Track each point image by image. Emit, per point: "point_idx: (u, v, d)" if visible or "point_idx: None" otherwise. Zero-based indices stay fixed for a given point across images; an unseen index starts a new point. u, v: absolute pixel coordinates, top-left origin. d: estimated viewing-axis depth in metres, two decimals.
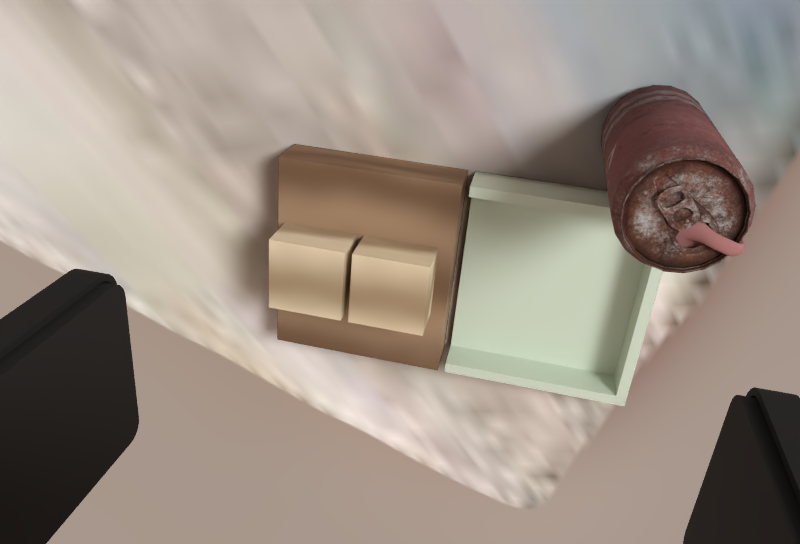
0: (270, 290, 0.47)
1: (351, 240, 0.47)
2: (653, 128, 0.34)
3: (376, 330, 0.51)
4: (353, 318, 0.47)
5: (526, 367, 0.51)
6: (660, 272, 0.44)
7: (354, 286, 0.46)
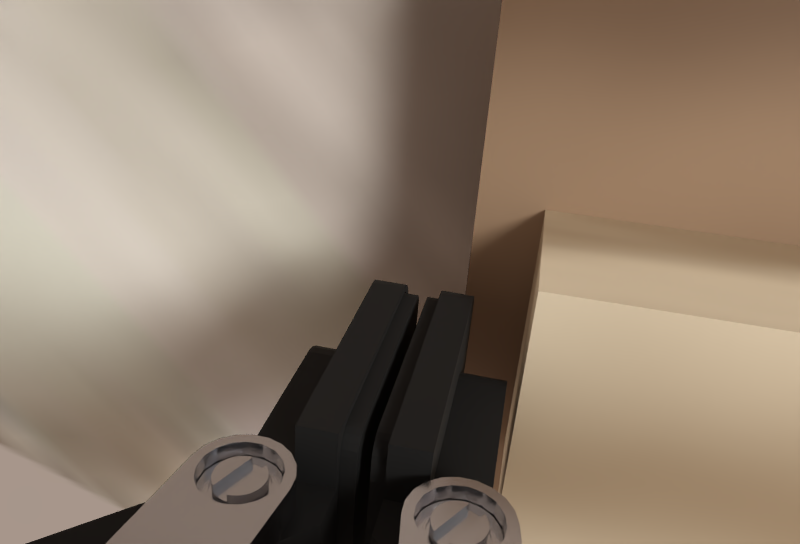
0: None
1: None
2: None
3: None
4: None
5: None
6: None
7: None
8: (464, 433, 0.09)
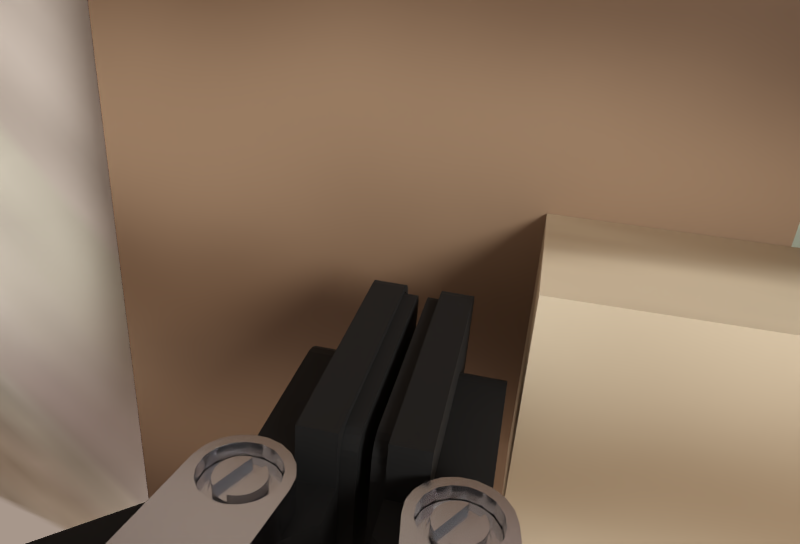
0: None
1: None
2: None
3: None
4: None
5: None
6: None
7: None
8: (464, 433, 0.09)
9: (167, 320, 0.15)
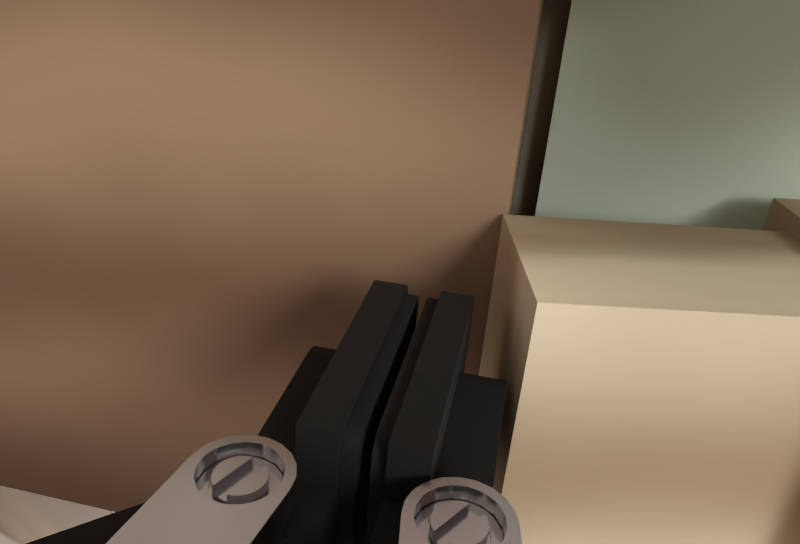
0: None
1: None
2: None
3: None
4: None
5: None
6: None
7: None
8: (464, 433, 0.09)
9: None
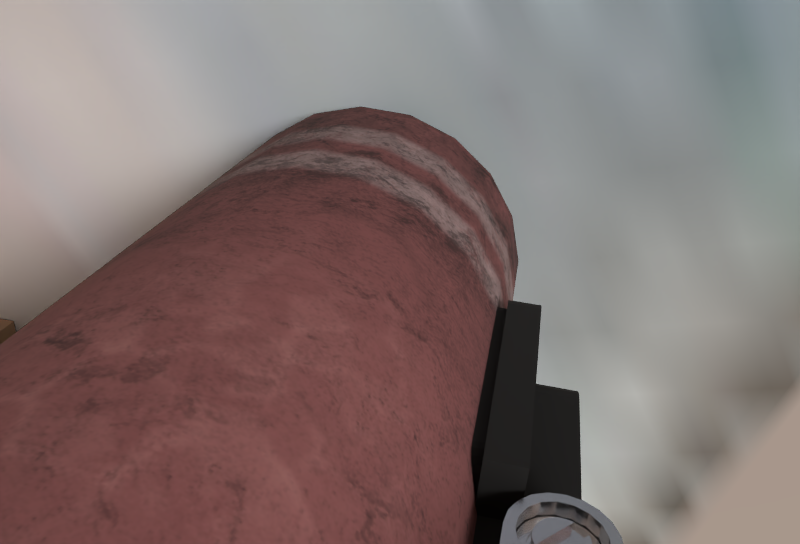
0: None
1: None
2: (6, 366, 0.06)
3: None
4: None
5: None
6: None
7: None
8: (544, 446, 0.09)
9: None
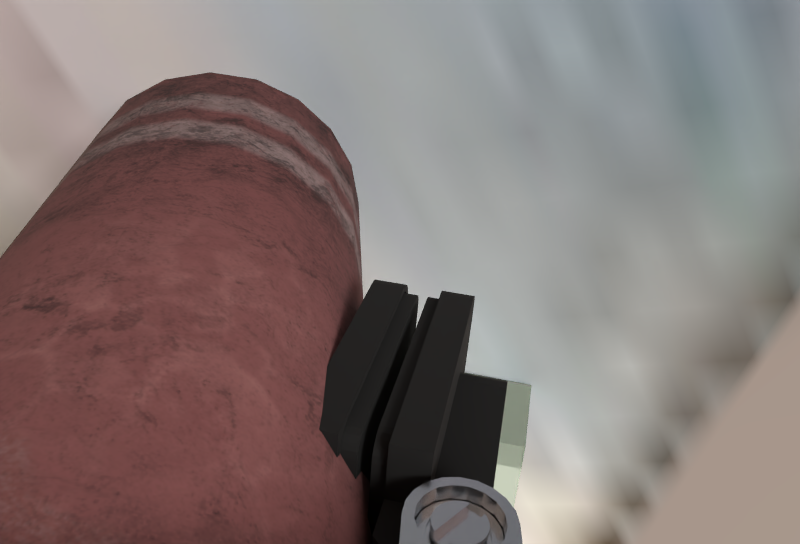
0: None
1: None
2: None
3: None
4: None
5: None
6: None
7: None
8: (464, 433, 0.09)
9: None
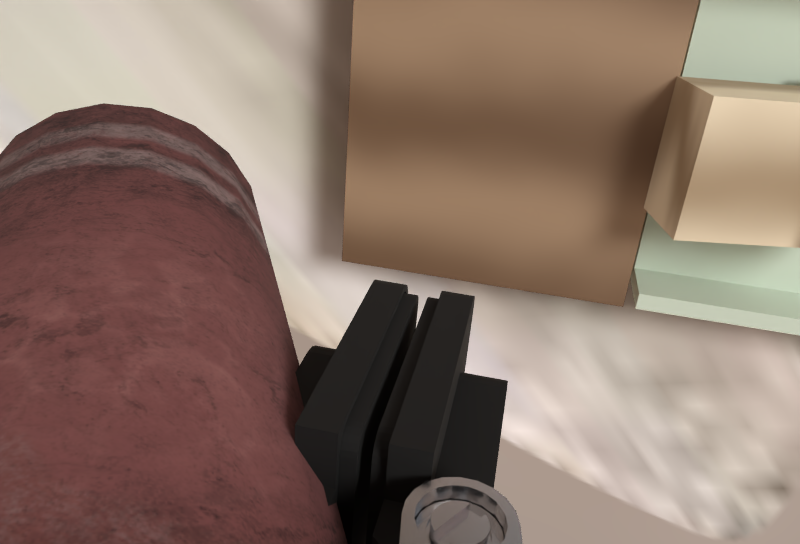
0: (686, 205, 0.24)
1: None
2: None
3: (519, 236, 0.29)
4: None
5: (776, 300, 0.30)
6: None
7: None
8: (464, 433, 0.09)
9: (370, 133, 0.29)
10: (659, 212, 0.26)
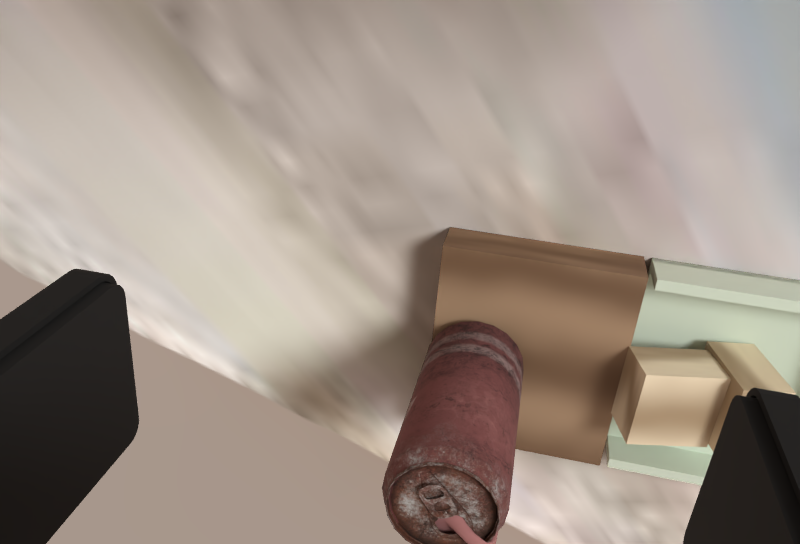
0: (633, 426, 0.42)
1: (715, 360, 0.43)
2: (442, 403, 0.36)
3: (535, 423, 0.47)
4: None
5: (695, 461, 0.48)
6: None
7: None
8: None
9: None
10: (619, 421, 0.44)
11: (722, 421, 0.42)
